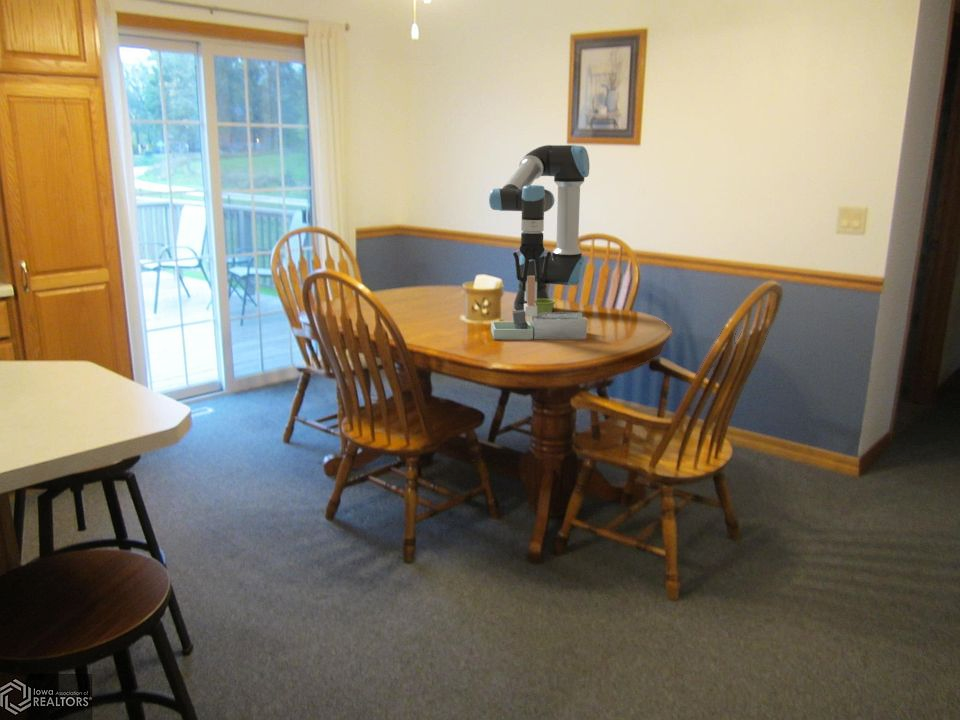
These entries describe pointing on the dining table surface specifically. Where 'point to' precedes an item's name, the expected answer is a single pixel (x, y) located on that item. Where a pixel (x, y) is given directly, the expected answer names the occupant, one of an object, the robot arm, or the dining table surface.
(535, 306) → the scraper
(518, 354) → the dining table surface
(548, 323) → the slot block
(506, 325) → the tray
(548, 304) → the plant pot
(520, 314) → the grey cube
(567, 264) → the robot arm
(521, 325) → the chip
